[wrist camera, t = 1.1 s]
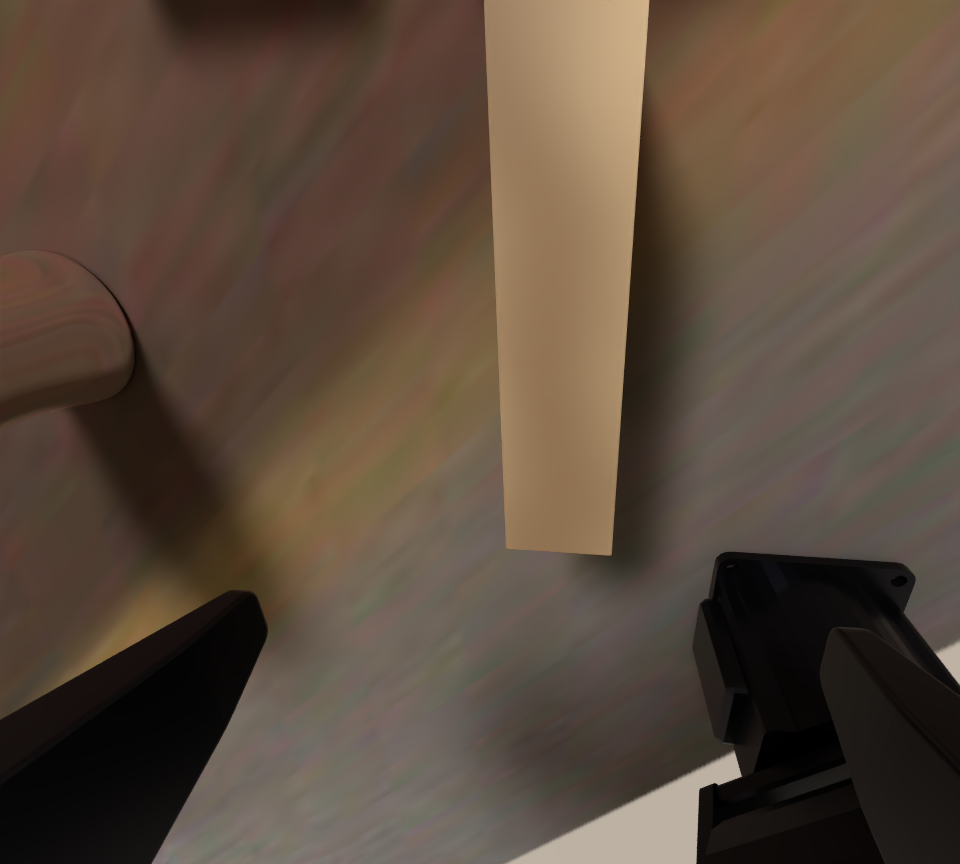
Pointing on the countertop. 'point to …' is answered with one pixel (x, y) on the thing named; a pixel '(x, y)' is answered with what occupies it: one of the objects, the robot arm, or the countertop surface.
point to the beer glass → (57, 337)
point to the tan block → (563, 255)
